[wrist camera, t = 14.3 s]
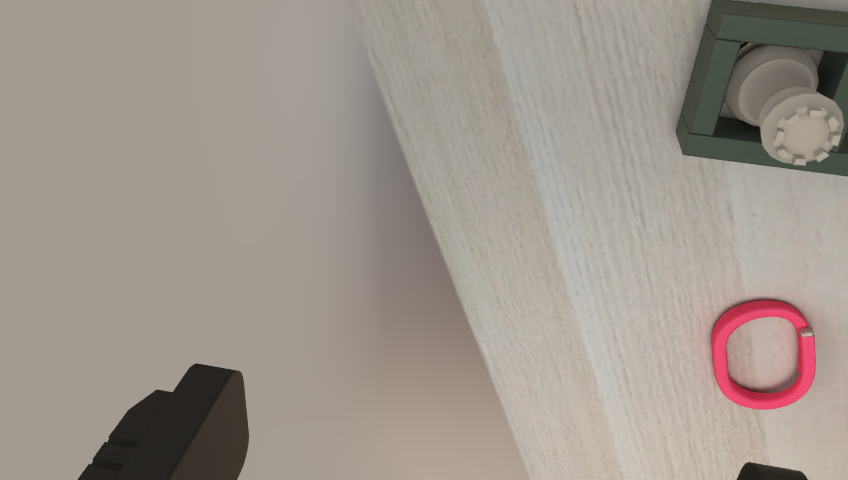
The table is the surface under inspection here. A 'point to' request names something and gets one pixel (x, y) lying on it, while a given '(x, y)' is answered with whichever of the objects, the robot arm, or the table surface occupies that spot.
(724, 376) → the fitness band
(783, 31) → the rack
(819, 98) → the rook chess piece
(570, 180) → the table surface
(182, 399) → the robot arm
